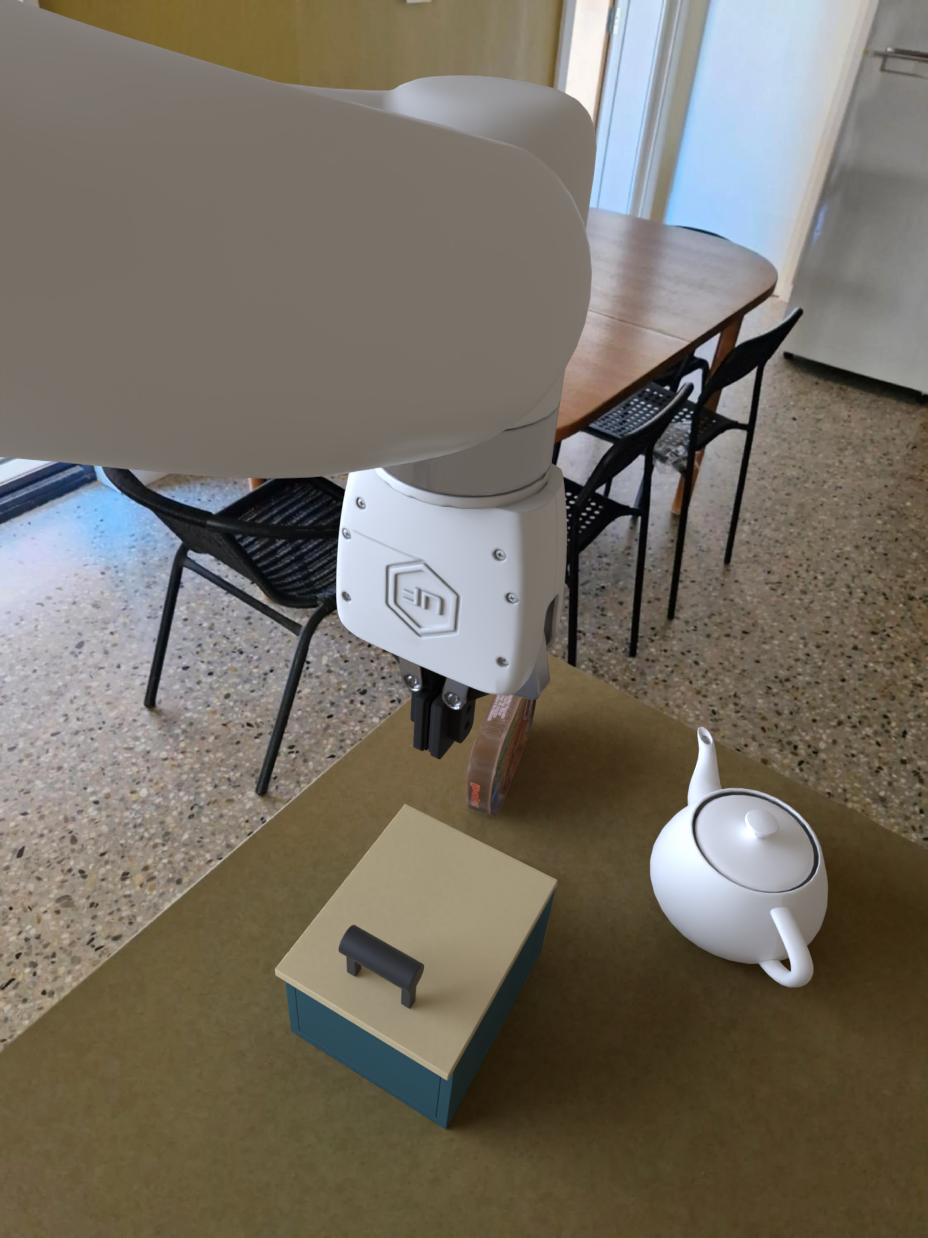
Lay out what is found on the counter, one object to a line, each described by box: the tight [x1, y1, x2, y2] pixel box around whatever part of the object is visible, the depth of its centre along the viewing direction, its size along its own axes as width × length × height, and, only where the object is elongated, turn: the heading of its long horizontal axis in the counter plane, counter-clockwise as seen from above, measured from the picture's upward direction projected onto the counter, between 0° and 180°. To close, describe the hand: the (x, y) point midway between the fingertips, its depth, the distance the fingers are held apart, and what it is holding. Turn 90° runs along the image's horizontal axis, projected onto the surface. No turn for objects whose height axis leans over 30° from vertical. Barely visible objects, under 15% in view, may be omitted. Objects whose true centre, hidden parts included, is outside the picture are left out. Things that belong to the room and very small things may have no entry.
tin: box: [465, 694, 537, 817], centre depth 80 cm, size 15×3×8 cm, turn 161°
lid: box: [274, 803, 558, 1081], centre depth 58 cm, size 15×13×5 cm
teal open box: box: [284, 887, 557, 1130], centre depth 62 cm, size 15×13×9 cm
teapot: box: [649, 726, 829, 988], centre depth 70 cm, size 22×14×11 cm, turn 8°
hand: (440, 737), depth 48 cm, fingers closed
